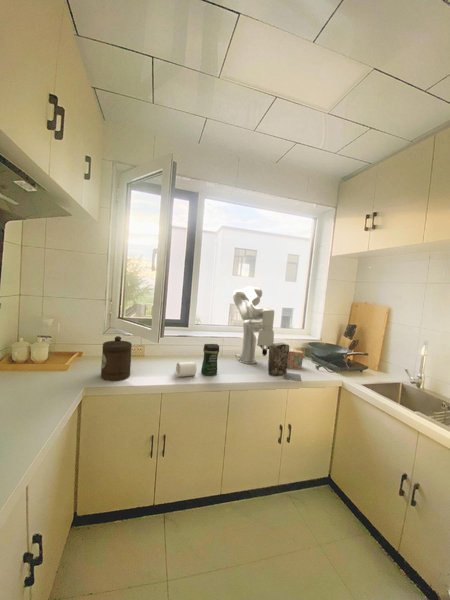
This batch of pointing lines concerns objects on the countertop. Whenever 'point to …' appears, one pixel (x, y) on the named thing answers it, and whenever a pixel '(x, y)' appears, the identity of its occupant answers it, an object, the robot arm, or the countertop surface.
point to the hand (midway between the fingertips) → (264, 355)
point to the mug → (186, 369)
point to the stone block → (278, 358)
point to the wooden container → (116, 360)
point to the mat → (292, 376)
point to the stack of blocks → (295, 359)
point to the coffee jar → (210, 359)
